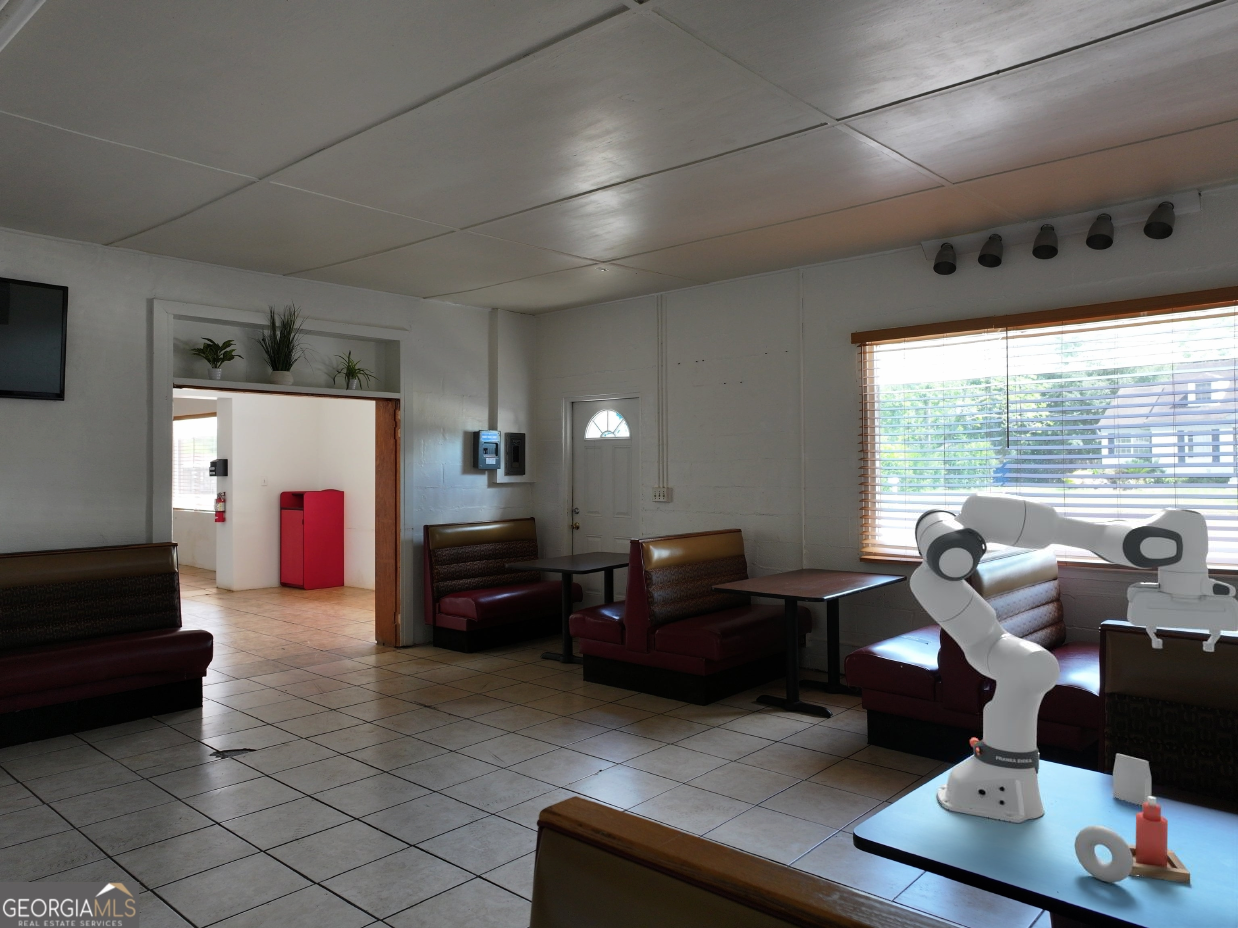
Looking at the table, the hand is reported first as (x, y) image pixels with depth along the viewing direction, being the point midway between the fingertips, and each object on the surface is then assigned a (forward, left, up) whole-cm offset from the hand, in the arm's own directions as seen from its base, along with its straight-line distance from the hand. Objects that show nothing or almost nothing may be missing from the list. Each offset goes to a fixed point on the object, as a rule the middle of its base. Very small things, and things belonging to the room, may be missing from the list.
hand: (1182, 649), depth 177 cm
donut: (-21, -28, -39) cm, 53 cm away
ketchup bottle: (-11, -19, -38) cm, 44 cm away
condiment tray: (-11, -19, -39) cm, 45 cm away
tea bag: (-5, +17, -39) cm, 43 cm away
